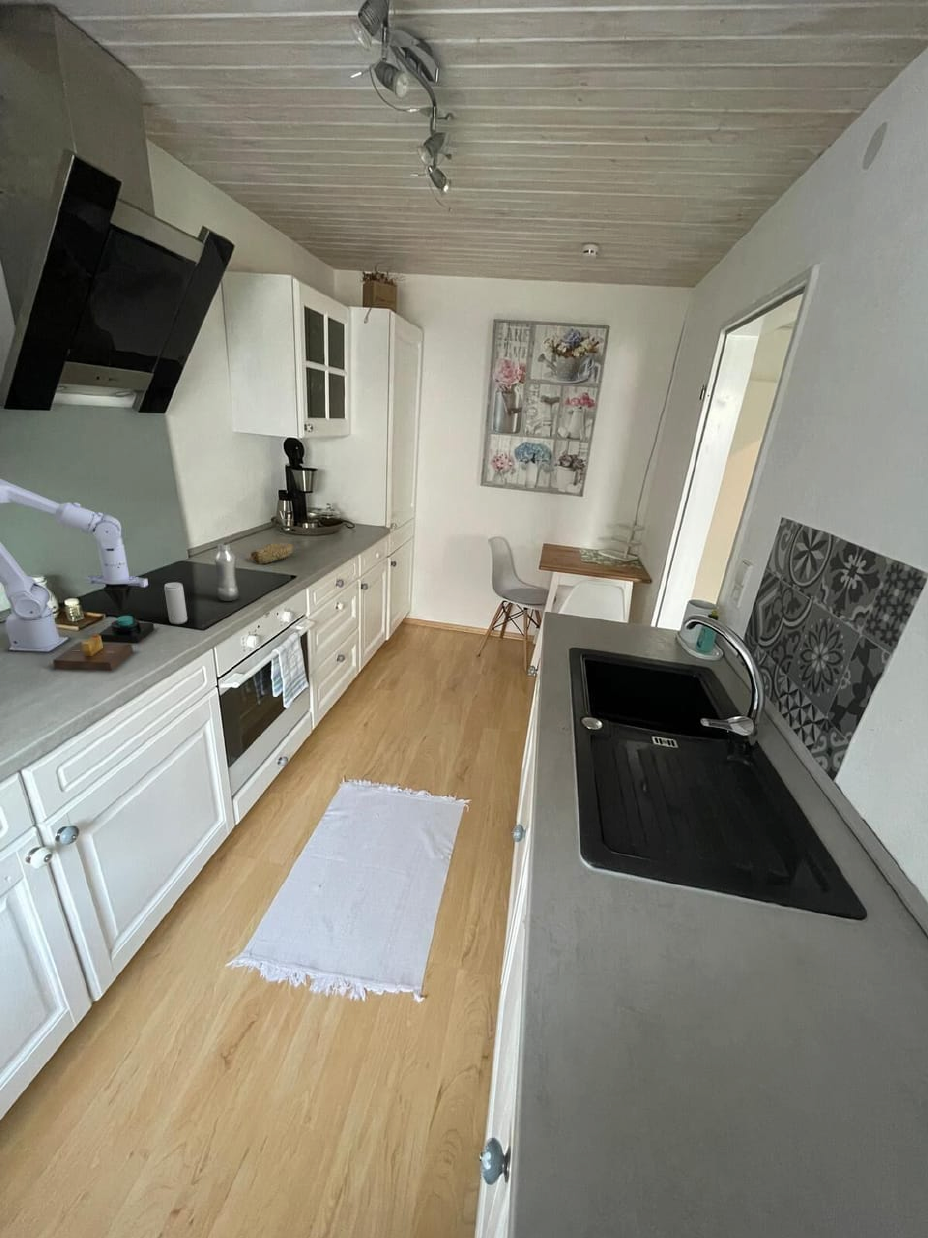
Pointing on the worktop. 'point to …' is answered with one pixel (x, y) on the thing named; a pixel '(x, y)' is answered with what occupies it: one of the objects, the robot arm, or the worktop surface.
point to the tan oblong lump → (272, 552)
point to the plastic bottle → (226, 573)
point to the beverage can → (175, 603)
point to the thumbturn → (92, 645)
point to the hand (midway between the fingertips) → (122, 609)
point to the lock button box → (127, 632)
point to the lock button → (124, 620)
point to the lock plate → (93, 657)
